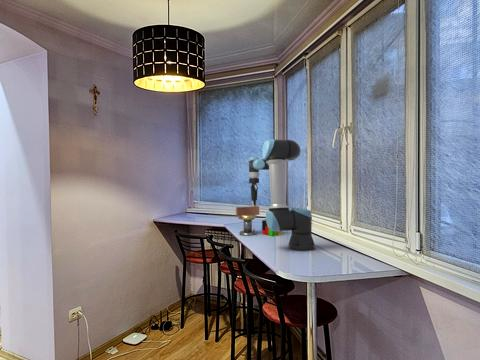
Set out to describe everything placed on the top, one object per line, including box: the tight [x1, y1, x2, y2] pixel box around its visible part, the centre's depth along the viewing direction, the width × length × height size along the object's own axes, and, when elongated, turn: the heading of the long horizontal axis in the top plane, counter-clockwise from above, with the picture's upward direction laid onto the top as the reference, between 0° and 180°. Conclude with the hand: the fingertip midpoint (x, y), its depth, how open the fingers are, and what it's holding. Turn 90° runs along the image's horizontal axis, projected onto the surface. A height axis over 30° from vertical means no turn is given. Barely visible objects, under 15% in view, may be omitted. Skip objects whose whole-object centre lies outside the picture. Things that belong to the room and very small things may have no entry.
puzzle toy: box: [261, 219, 283, 237], centre depth 224 cm, size 10×10×10 cm
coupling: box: [235, 205, 260, 221], centre depth 225 cm, size 17×10×9 cm, turn 110°
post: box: [238, 220, 257, 237], centre depth 225 cm, size 12×12×11 cm
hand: (254, 209), depth 235 cm, fingers closed
